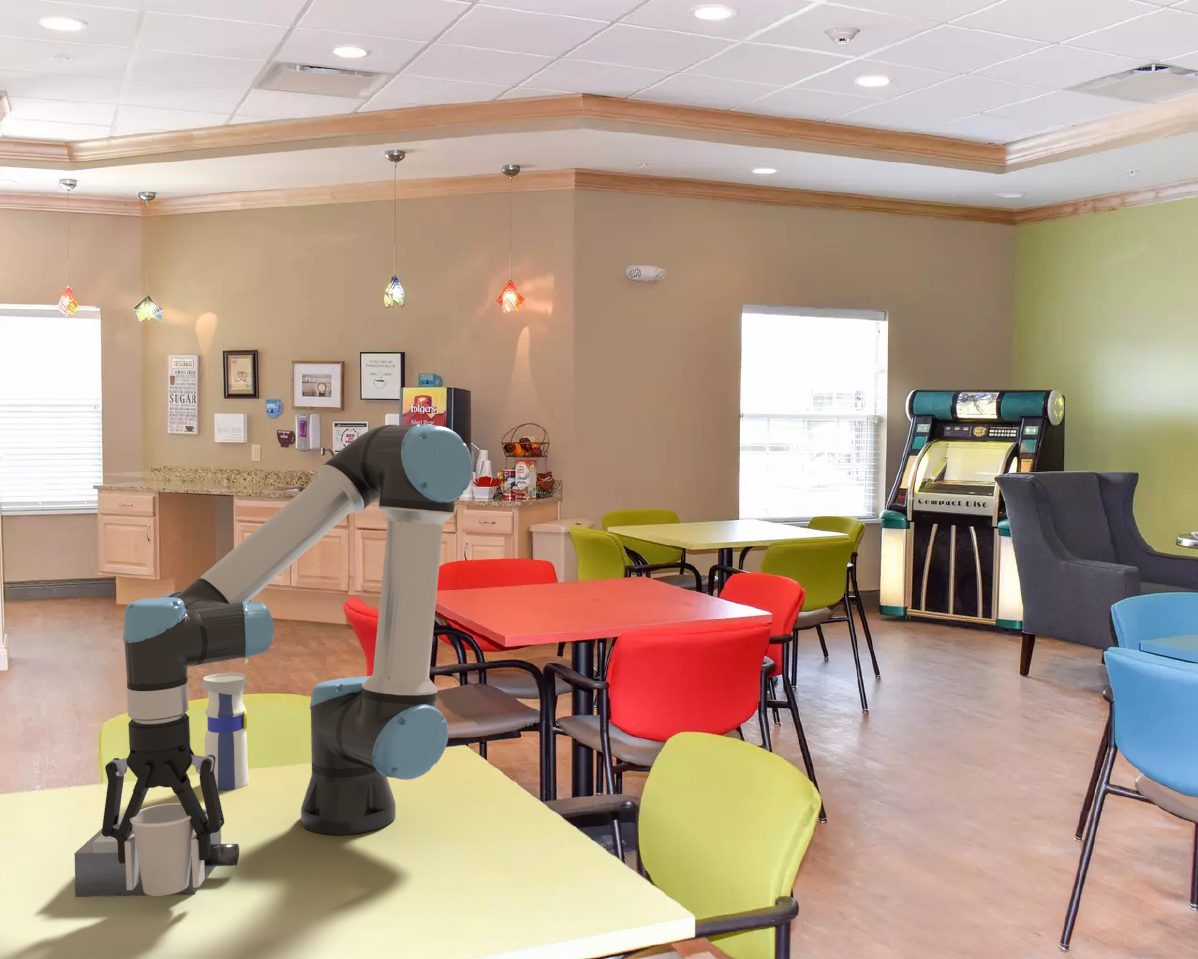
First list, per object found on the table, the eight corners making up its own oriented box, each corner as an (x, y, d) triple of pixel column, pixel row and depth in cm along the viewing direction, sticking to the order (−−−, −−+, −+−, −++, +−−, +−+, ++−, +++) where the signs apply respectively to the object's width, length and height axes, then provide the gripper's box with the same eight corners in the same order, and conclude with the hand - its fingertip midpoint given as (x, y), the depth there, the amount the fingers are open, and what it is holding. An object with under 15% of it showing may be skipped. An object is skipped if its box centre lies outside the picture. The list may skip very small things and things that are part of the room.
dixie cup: (159, 904, 146) (156, 828, 146) (118, 891, 150) (116, 817, 150) (212, 882, 153) (210, 809, 153) (172, 870, 157) (170, 799, 157)
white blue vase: (250, 774, 210) (248, 640, 209) (251, 788, 202) (250, 648, 201) (203, 778, 208) (201, 642, 207) (202, 792, 200) (200, 651, 199)
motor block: (248, 858, 169) (247, 808, 169) (224, 893, 156) (223, 839, 156) (111, 860, 168) (110, 810, 168) (75, 896, 155) (74, 842, 155)
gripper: (245, 706, 155) (252, 870, 156) (89, 711, 154) (97, 876, 155) (230, 721, 147) (237, 893, 149) (66, 726, 146) (75, 899, 147)
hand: (166, 884), depth 152 cm, fingers closed on dixie cup, 8 cm apart
